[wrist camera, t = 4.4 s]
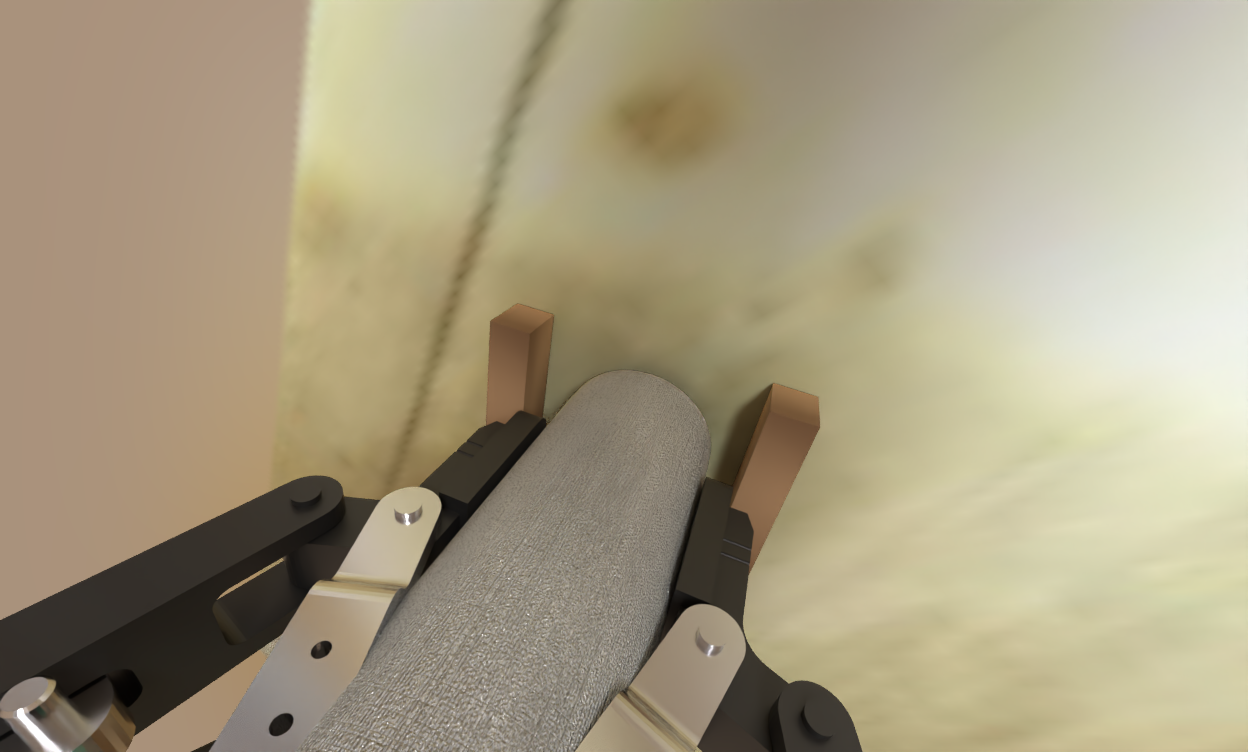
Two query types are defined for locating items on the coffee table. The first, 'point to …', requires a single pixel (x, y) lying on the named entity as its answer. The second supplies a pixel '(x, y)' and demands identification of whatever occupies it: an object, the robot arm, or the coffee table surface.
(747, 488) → the guide channel
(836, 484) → the coffee table surface
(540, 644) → the grey hollow cylinder
